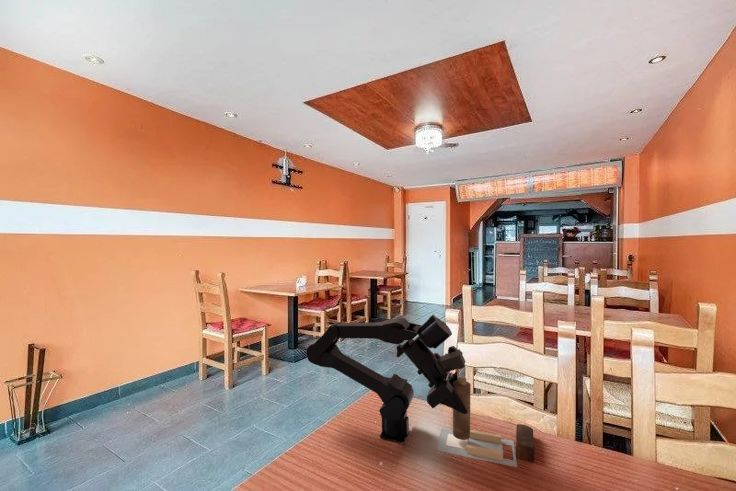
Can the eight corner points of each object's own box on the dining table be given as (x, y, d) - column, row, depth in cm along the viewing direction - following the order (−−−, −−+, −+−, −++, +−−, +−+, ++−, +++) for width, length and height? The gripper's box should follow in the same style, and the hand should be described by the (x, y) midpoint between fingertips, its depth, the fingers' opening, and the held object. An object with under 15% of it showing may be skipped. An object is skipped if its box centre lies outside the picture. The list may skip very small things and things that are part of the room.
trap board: (436, 455, 78) (436, 443, 78) (441, 432, 88) (441, 422, 88) (517, 472, 72) (517, 460, 72) (513, 445, 82) (513, 434, 82)
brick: (534, 468, 74) (534, 448, 74) (515, 463, 75) (515, 443, 75) (533, 442, 83) (533, 424, 83) (516, 438, 85) (516, 420, 85)
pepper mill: (451, 437, 80) (452, 381, 80) (453, 428, 84) (453, 374, 84) (469, 441, 79) (470, 383, 78) (470, 431, 82) (470, 376, 82)
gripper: (441, 351, 73) (492, 408, 70) (449, 330, 91) (491, 374, 87) (407, 380, 76) (455, 436, 73) (421, 354, 94) (460, 398, 90)
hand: (467, 408), depth 81 cm, fingers closed on pepper mill, 4 cm apart
